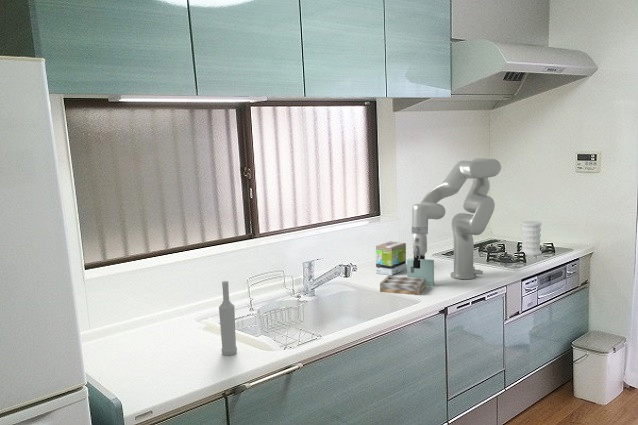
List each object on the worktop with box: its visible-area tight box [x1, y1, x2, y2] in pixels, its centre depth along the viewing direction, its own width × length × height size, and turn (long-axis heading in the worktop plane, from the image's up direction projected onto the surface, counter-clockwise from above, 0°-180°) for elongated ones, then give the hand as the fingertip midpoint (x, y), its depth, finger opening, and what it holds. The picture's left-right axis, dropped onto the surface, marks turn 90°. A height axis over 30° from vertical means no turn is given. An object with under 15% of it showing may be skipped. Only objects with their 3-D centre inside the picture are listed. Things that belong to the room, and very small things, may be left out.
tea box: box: [375, 241, 407, 276], centre depth 288 cm, size 15×10×15 cm, turn 143°
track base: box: [379, 275, 427, 296], centre depth 256 cm, size 18×14×4 cm
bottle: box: [218, 280, 238, 357], centre depth 186 cm, size 5×5×25 cm
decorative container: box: [519, 220, 543, 256], centre depth 318 cm, size 12×12×18 cm
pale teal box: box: [406, 258, 435, 287], centre depth 262 cm, size 12×4×12 cm, turn 67°
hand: (419, 266), depth 261 cm, fingers open, 9 cm apart
